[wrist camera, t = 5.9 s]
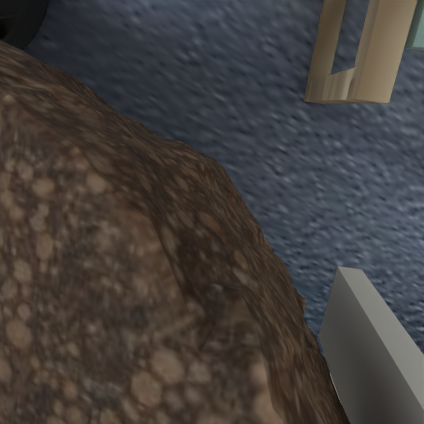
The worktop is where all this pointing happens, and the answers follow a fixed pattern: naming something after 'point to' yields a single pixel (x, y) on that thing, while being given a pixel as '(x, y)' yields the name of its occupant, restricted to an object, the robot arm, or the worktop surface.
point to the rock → (136, 275)
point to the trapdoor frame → (360, 54)
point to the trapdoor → (417, 29)
